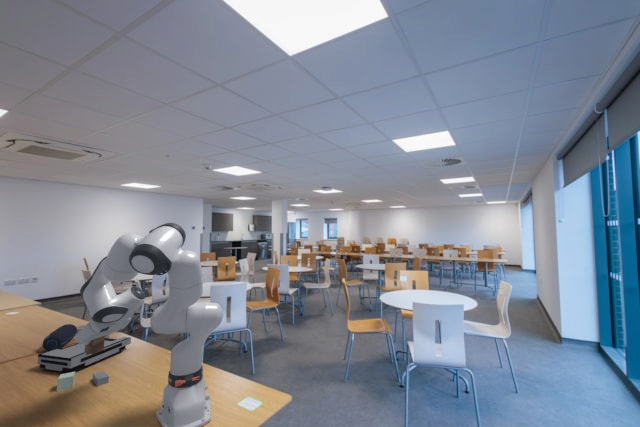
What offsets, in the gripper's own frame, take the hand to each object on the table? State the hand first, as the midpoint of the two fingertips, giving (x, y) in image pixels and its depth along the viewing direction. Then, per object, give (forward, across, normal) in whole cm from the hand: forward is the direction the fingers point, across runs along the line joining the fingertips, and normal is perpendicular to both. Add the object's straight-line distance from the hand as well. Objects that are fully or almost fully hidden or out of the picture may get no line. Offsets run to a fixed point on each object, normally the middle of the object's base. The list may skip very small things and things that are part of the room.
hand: (93, 340), depth 118 cm
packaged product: (+74, -53, -43) cm, 101 cm away
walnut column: (+3, 0, +4) cm, 4 cm away
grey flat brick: (+19, -9, +11) cm, 24 cm away
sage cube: (+26, -2, +4) cm, 27 cm away
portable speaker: (+64, -38, -34) cm, 82 cm away
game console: (+40, -26, -9) cm, 49 cm away
